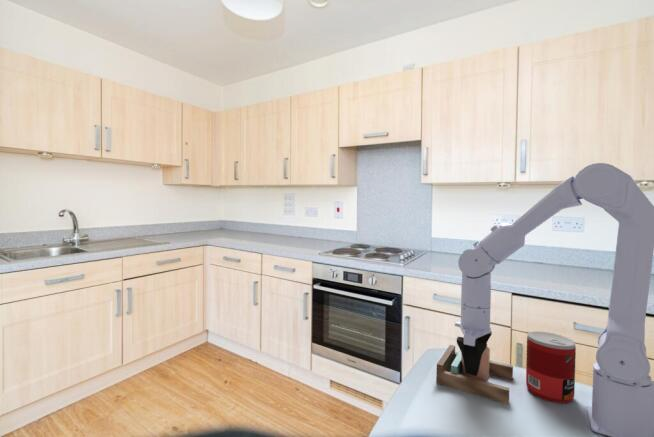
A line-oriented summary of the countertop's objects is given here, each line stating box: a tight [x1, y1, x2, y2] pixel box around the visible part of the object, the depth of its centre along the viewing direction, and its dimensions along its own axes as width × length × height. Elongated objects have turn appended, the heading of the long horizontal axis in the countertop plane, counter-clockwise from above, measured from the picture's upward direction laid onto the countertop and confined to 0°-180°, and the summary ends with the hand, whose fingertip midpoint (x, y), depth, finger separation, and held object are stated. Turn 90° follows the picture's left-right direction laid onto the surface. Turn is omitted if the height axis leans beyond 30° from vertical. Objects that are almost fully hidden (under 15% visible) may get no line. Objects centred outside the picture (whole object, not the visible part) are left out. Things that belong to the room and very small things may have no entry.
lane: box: [435, 344, 514, 405], centre depth 69 cm, size 13×12×4 cm
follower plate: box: [450, 349, 462, 375], centre depth 71 cm, size 1×9×4 cm, turn 147°
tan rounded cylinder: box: [461, 346, 491, 382], centre depth 69 cm, size 6×6×6 cm
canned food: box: [525, 331, 577, 404], centre depth 65 cm, size 8×8×11 cm
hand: (473, 368), depth 69 cm, fingers closed on tan rounded cylinder, 5 cm apart
